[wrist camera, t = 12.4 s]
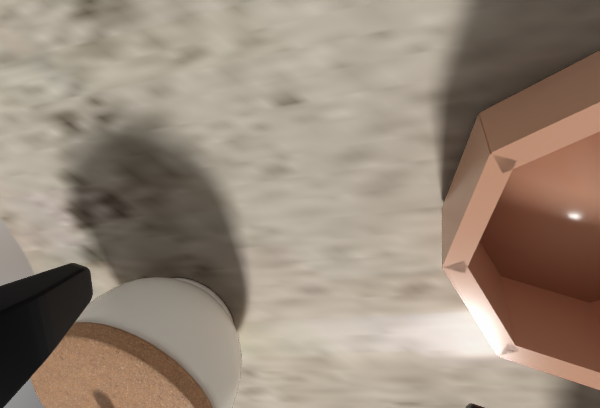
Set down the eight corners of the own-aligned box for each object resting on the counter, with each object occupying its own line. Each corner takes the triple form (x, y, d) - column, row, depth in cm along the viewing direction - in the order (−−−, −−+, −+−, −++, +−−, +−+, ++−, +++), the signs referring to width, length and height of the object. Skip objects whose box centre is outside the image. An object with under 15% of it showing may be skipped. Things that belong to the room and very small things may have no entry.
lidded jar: (259, 392, 30) (193, 542, 22) (127, 344, 32) (22, 465, 24) (275, 275, 24) (195, 417, 16) (115, 227, 26) (-25, 332, 18)
